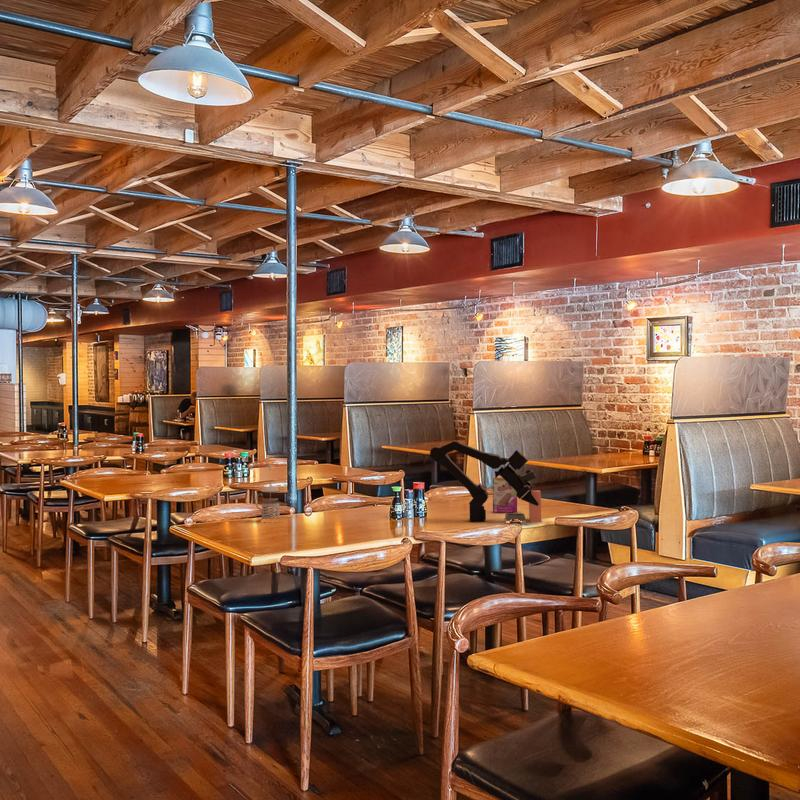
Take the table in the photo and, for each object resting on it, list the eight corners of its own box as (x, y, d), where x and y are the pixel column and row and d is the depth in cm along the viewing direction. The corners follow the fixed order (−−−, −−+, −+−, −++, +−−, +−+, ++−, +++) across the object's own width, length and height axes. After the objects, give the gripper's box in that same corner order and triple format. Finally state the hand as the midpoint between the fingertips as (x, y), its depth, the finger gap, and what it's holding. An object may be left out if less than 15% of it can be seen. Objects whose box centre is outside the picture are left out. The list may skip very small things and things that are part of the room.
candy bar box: (492, 513, 380) (492, 477, 379) (492, 511, 384) (492, 476, 384) (517, 513, 378) (517, 477, 378) (517, 511, 383) (516, 475, 383)
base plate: (506, 523, 350) (505, 516, 350) (504, 520, 358) (504, 513, 358) (526, 523, 349) (526, 516, 349) (524, 520, 358) (524, 513, 358)
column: (530, 522, 351) (530, 491, 351) (529, 520, 356) (528, 490, 356) (541, 522, 351) (540, 491, 351) (540, 520, 356) (539, 490, 356)
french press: (280, 522, 364) (279, 465, 364) (253, 523, 364) (252, 465, 364) (283, 519, 374) (282, 463, 373) (257, 519, 374) (256, 464, 373)
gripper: (524, 466, 345) (551, 492, 343) (525, 462, 363) (551, 487, 361) (505, 485, 346) (532, 511, 344) (507, 480, 365) (533, 505, 363)
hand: (538, 503), depth 353 cm, fingers open, 9 cm apart
